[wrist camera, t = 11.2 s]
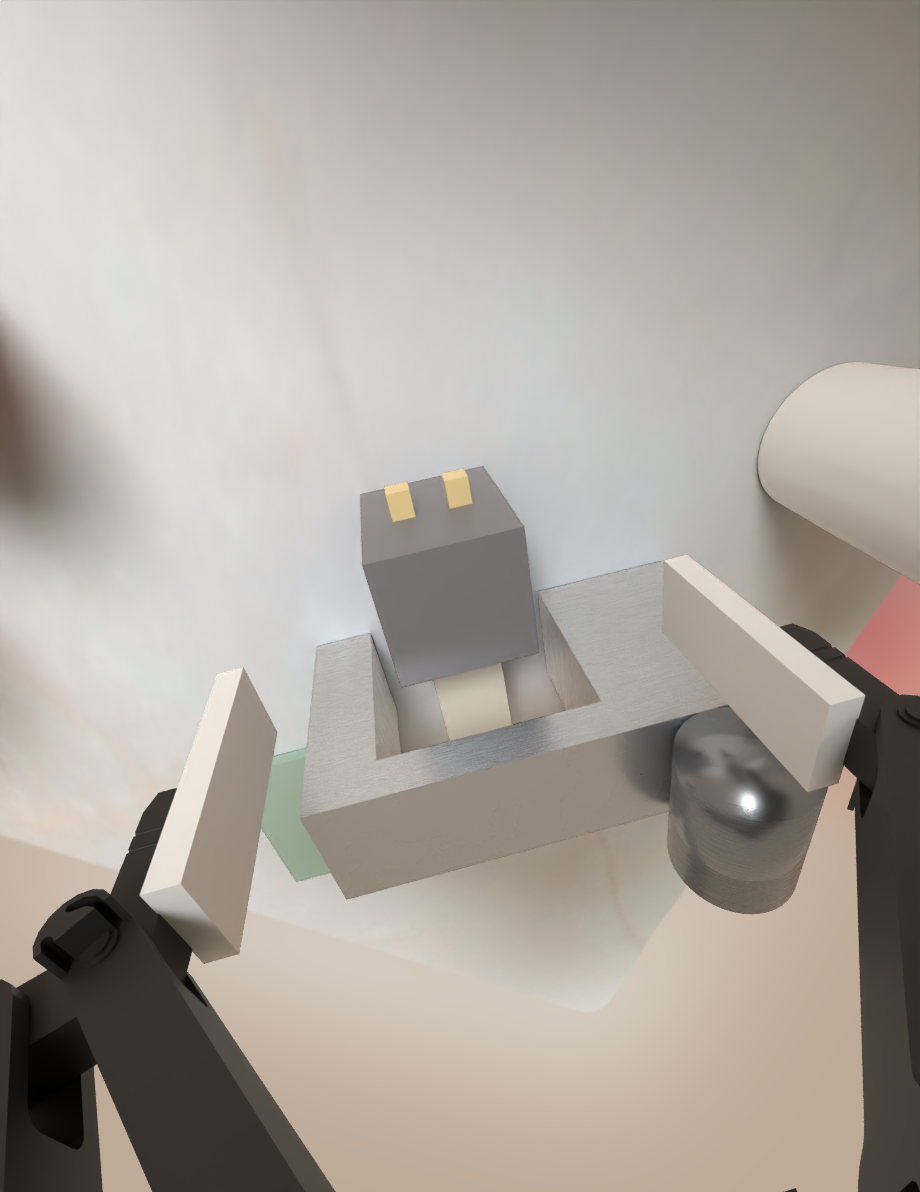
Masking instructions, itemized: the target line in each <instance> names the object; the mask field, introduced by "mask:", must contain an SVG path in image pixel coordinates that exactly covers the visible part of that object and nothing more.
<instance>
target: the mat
mask: <svg viewBox="0 0 920 1192" xmlns="http://www.w3.org/2000/svg"><path fill="white" fill-rule="evenodd" d="M306 750H307V748H305V749H301V750H297V751H293V752H289V753H285V754H281V755H278V756H274V757H273V760H272V766H271V771H270V777H269V783H268V789H267V795H266V801H265V807H264V812H263V818H262V824H261V829H262V830H263V832H264V833H265V835H266V836H267V838H268V839H269V841H270V842H271V844H272V845H273V847H274V848H275V850H276V851H277V853H278V855H279V856H280V858H281V859H282V861H283V862H284V864H285V865H286V867H287V868H288V870H289V871H290V873H291V874H292V876H293V877H294V879H295V880H296V882H298V881H302V880H305V879H309V878H313V877H317V876H320V875H324V874H328V873H331V872H330V870H329V868H328V867H327V865H326V863H325V861H324V860H323V858H322V856H321V854H320V853H319V851H318V849H317V847H316V846H315V844H314V842H313V841H312V839H311V837H310V835H309V834H308V832H307V830H306V828H305V827H304V825H303V823H302V821H301V820H300V810H301V800H302V790H303V780H304V770H305V760H306Z"/></svg>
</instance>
